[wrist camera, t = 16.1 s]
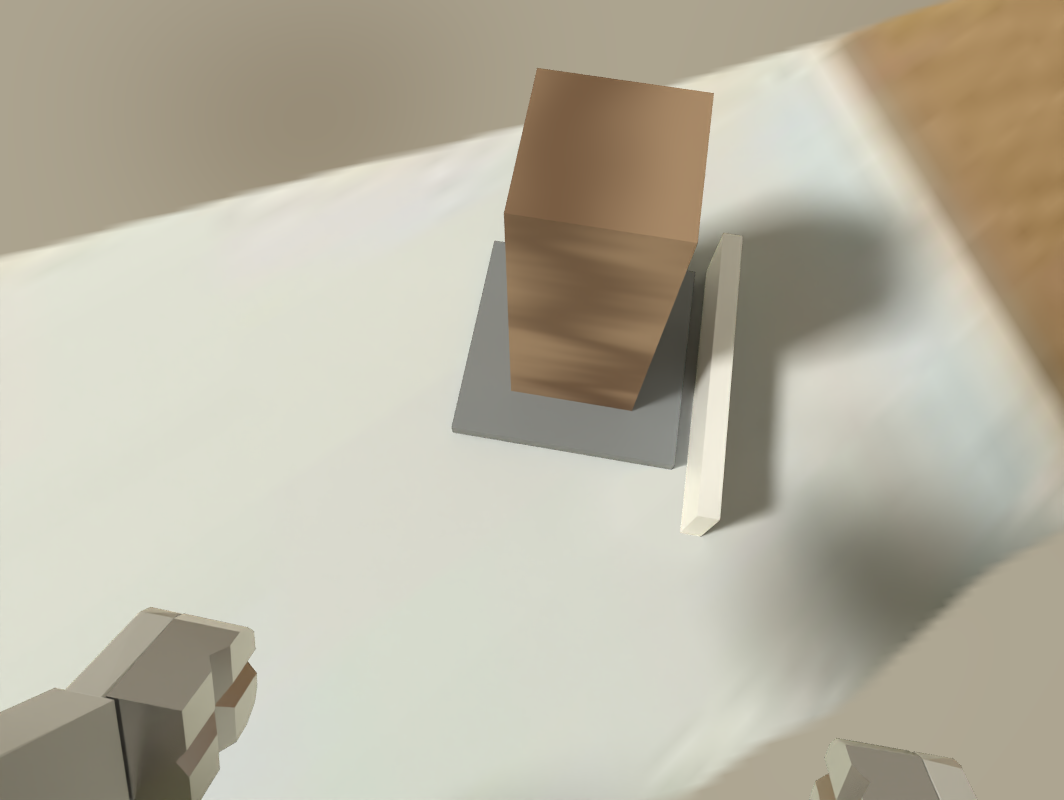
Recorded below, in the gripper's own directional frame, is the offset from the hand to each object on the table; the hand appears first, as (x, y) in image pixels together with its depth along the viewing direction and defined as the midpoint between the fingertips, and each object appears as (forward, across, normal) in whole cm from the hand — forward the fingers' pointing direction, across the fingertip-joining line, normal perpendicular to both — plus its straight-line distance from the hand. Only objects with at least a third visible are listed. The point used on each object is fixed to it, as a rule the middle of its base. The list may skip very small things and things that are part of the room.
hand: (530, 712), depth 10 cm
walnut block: (+22, 0, +2) cm, 22 cm away
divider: (+21, -5, +3) cm, 22 cm away
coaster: (+22, +1, +2) cm, 22 cm away
